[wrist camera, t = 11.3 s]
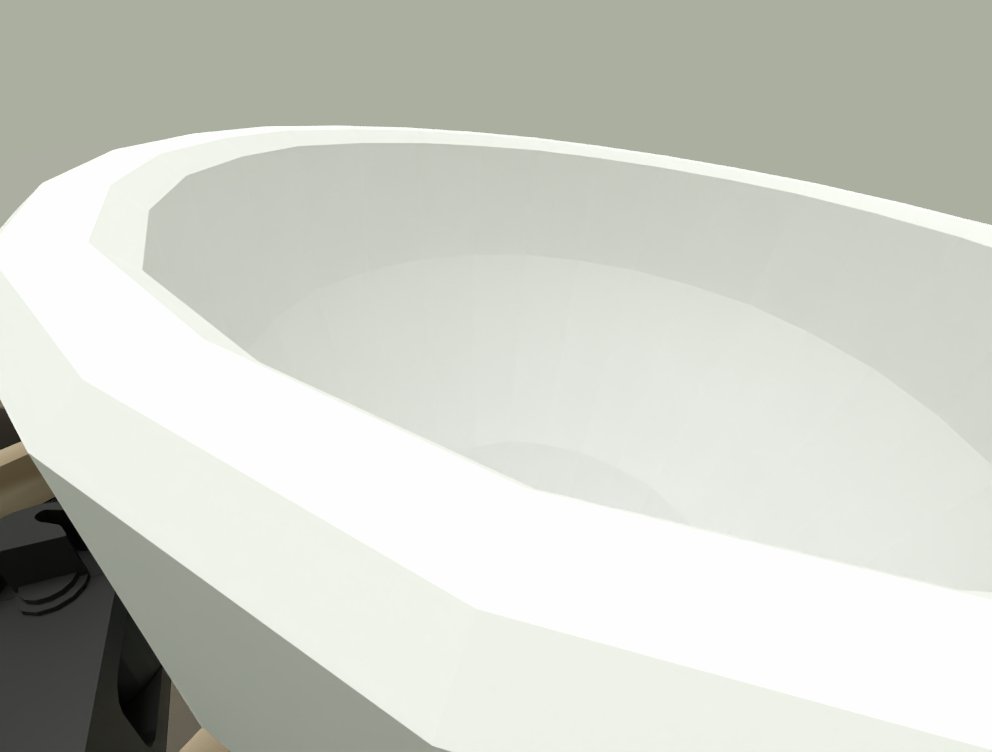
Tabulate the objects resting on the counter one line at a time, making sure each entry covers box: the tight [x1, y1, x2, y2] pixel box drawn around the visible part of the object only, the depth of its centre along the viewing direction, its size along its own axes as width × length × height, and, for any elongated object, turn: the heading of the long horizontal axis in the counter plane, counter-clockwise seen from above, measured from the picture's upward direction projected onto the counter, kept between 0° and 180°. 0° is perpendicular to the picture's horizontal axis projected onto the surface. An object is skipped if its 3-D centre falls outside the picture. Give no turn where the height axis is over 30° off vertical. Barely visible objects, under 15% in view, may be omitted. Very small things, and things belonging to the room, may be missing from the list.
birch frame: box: [0, 441, 230, 752], centre depth 17 cm, size 16×16×2 cm
